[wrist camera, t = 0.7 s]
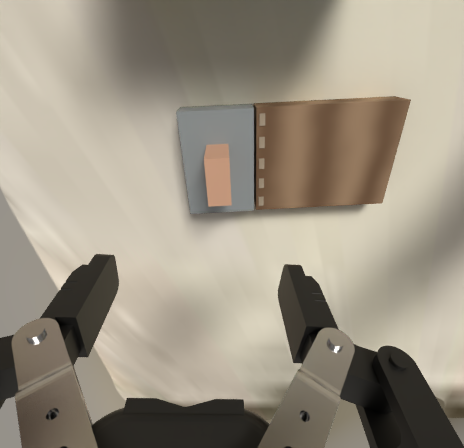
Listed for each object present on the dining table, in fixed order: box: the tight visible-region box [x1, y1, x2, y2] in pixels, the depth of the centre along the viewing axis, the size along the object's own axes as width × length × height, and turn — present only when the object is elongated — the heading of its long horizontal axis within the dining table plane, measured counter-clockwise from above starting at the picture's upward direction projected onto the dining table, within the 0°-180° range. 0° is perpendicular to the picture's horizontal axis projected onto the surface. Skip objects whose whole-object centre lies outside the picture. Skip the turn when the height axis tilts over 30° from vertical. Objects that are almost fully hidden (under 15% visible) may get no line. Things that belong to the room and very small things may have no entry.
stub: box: [176, 104, 254, 214], centre depth 30 cm, size 8×12×8 cm, turn 2°
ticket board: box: [254, 96, 411, 210], centre depth 32 cm, size 16×12×3 cm
